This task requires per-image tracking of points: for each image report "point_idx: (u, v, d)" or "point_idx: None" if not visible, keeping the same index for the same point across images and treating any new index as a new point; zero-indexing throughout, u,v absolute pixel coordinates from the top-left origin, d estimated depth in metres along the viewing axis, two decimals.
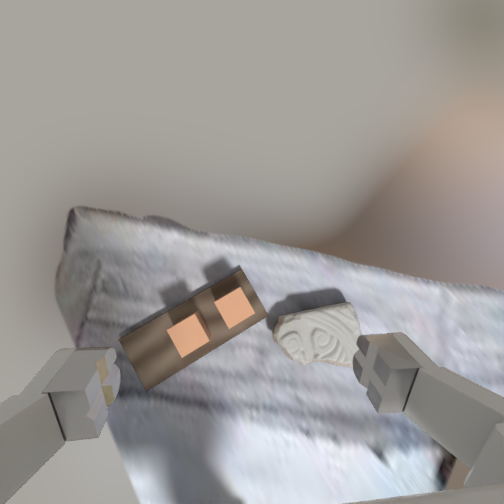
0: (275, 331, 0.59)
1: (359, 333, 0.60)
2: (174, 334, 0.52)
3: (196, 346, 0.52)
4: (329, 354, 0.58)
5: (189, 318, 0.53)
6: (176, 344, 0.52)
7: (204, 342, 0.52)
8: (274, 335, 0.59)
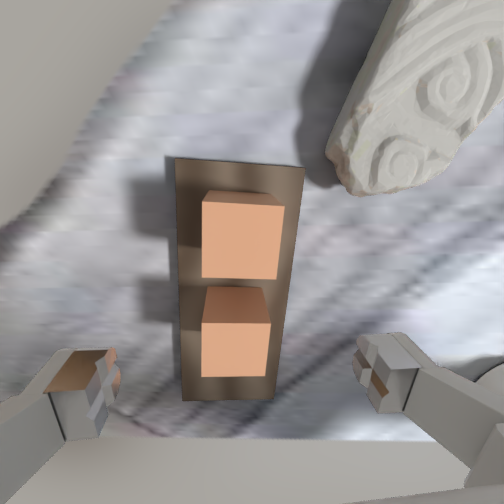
0: (348, 184, 0.24)
1: None
2: (217, 369, 0.25)
3: (263, 347, 0.25)
4: (490, 92, 0.22)
5: (204, 335, 0.24)
6: (236, 373, 0.25)
7: (267, 332, 0.24)
8: (354, 191, 0.25)
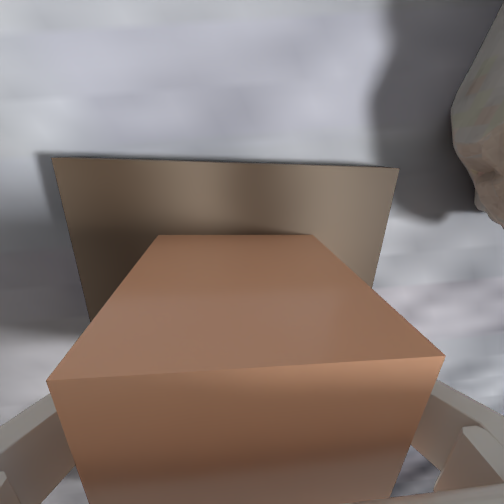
0: None
1: None
2: None
3: None
4: None
5: None
6: None
7: None
8: None
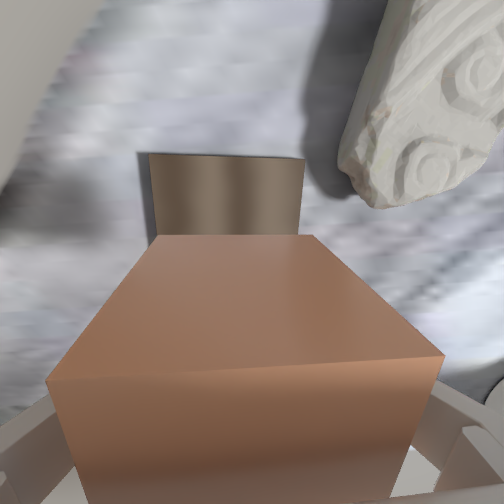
0: (370, 198, 0.21)
1: None
2: None
3: None
4: None
5: None
6: None
7: None
8: (376, 205, 0.22)
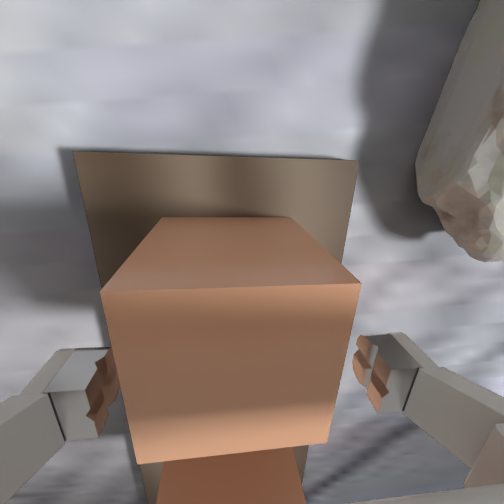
0: (483, 250, 0.12)
1: None
2: None
3: None
4: None
5: None
6: None
7: None
8: (492, 260, 0.13)
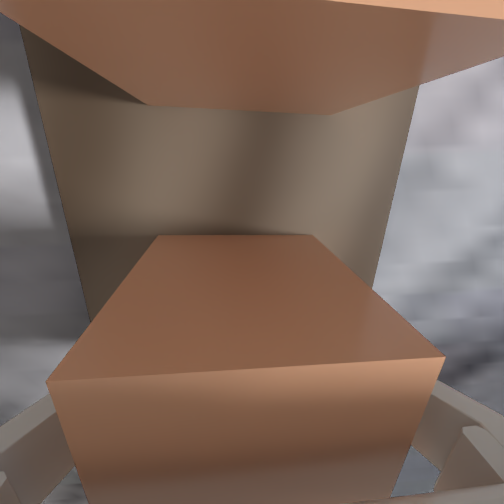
0: None
1: None
2: None
3: (385, 461, 0.05)
4: None
5: (86, 441, 0.04)
6: None
7: (414, 401, 0.05)
8: None
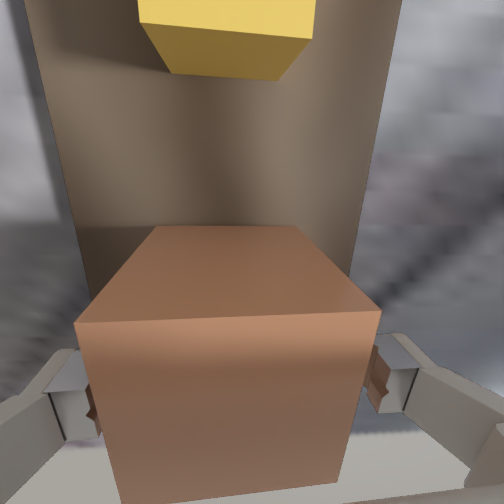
0: None
1: None
2: (177, 483, 0.07)
3: (342, 402, 0.07)
4: None
5: (102, 375, 0.05)
6: (246, 487, 0.08)
7: (361, 348, 0.06)
8: None
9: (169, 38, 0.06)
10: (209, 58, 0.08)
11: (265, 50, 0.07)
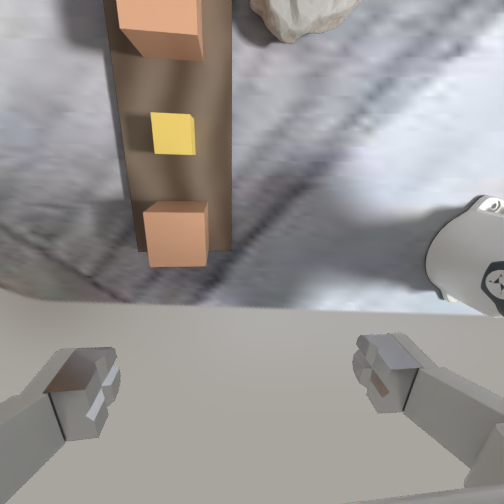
0: (276, 27, 0.26)
1: None
2: (163, 259, 0.29)
3: (201, 237, 0.29)
4: None
5: (147, 224, 0.27)
6: (180, 263, 0.29)
7: (201, 222, 0.28)
8: (282, 34, 0.26)
9: None
10: None
11: None
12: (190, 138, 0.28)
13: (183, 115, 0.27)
